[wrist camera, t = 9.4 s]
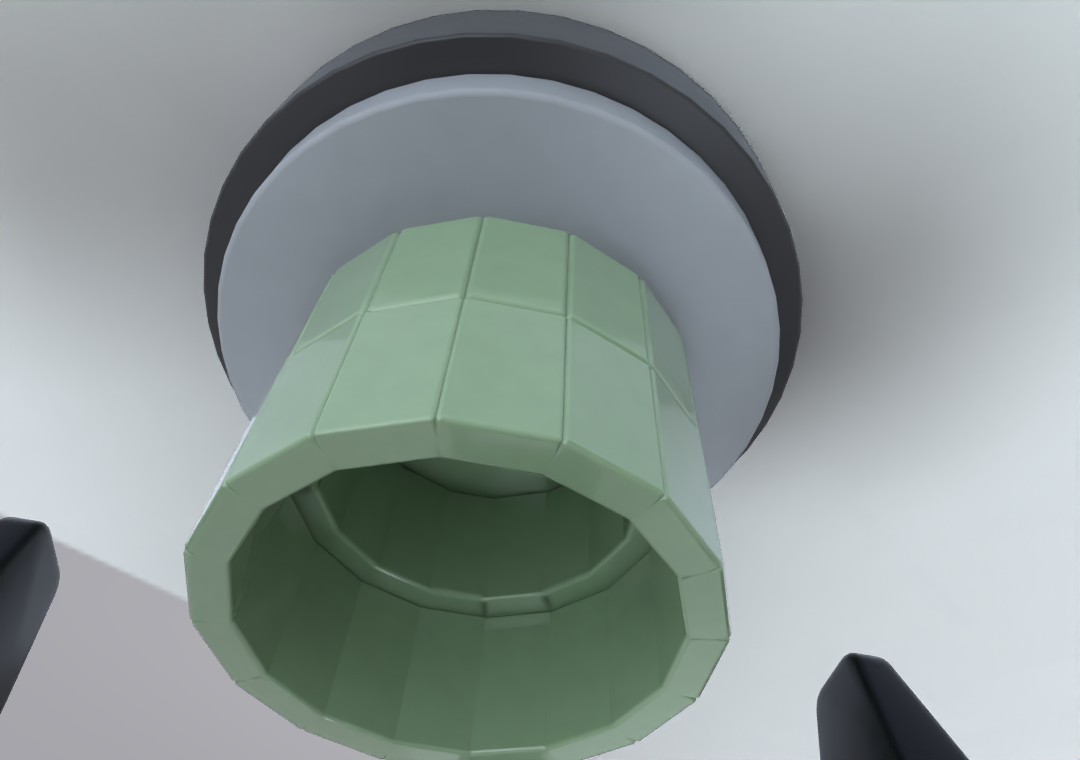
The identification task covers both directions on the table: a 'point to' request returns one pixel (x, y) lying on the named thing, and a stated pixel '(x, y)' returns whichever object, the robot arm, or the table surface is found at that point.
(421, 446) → the cup
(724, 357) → the scale
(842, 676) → the robot arm
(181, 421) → the table surface
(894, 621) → the table surface
